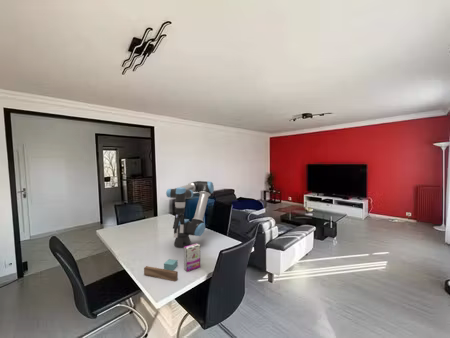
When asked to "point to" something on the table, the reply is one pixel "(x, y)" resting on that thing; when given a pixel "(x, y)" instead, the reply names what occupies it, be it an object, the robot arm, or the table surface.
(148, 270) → the curved walnut bar
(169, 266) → the teal block
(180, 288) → the table surface
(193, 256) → the candy bar box
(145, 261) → the table surface
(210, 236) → the table surface
